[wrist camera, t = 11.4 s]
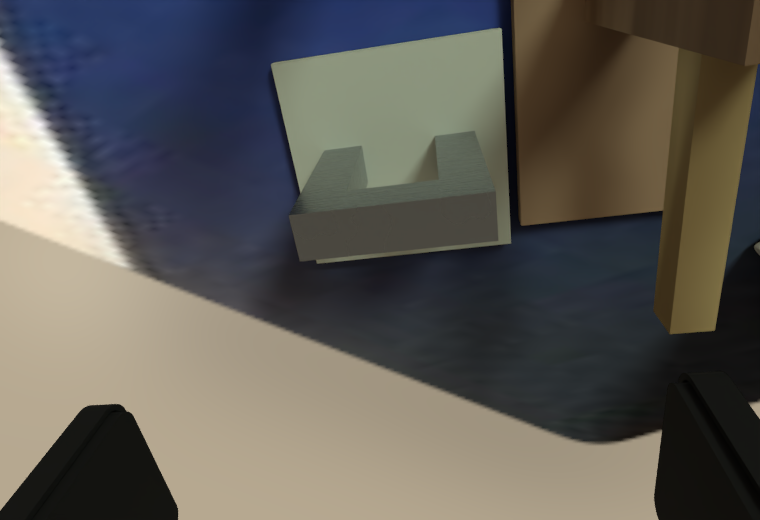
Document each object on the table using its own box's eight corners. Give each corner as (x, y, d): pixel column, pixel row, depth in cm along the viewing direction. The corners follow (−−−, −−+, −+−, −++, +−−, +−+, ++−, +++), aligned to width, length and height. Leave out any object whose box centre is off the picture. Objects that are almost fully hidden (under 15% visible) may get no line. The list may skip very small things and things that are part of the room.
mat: (499, 27, 23) (501, 28, 22) (509, 238, 27) (511, 243, 27) (274, 62, 24) (270, 64, 24) (318, 258, 29) (316, 263, 28)
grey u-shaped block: (474, 130, 24) (495, 191, 18) (476, 168, 25) (498, 240, 18) (324, 150, 25) (288, 215, 18) (331, 186, 26) (299, 261, 19)
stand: (722, -93, 20) (1107, -180, 9) (687, 204, 26) (898, 384, 15) (508, -56, 22) (610, -91, 10) (518, 222, 27) (591, 405, 16)
